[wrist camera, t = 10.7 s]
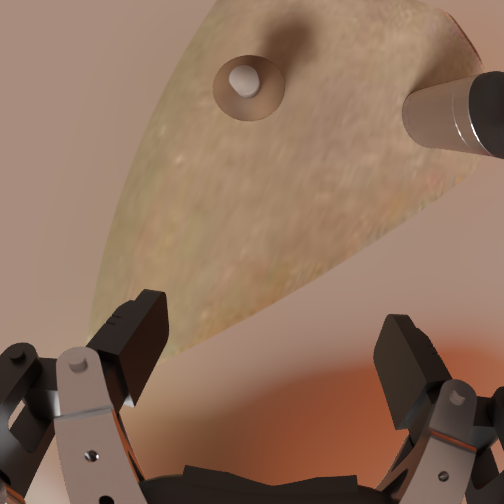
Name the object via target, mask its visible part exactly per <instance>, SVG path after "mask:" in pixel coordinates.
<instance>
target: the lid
mask: <svg viewBox="0 0 504 504" xmlns="http://www.w3.org/2000/svg"><path fill="white" fill-rule="evenodd" d="M284 91H285V83H284V79H283V76H282V74H281V72H280V70H279V69H278V68H277V67H276V65H274V64H273V63H272V62H270V61H269V60H267V59H265V58H262V57H259V56H254V55H245V56H240V57H236V58H234V59H232V60H230V61H228V62H227V63H225V64H224V65H223V66H222V67H221V68H220V70H219V71H218V72H217V74H216V76H215V79H214V82H213V95H214V99H215V101H216V103H217V105H218V106H219V108H220V109H221V110H222V111H223V112H224V113H226V114H227V115H229V116H230V117H232V118H235V119H237V120H241V121H256V120H260V119H263V118H265V117H267V116H269V115H270V114H272V113H273V112H274V111H275V110H276V109H277V108H278V107H279V105H280V104H281V102H282V100H283V97H284Z"/></svg>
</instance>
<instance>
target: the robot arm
mask: <svg viewBox="0 0 504 504" xmlns="http://www.w3.org/2000/svg"><path fill="white" fill-rule="evenodd" d="M402 118H403V122H404V125H405V128H406V130H407V132H408V134H409V135H410V136H411V138H412V139H413V140H414V141H415V142H417V143H418V144H420V145H422V146H424V147H428V148H436V149H444V150H452V151H459V152H466V153H472V154H479V155H485V156H491V157H496V158H501V159H504V72H500V71H493V72H488V73H483V74H479V75H474V76H470V77H466V78H462V79H458V80H454V81H450V82H446V83H442V84H439V85H435V86H431V87H428V88H424V89H421V90H417V91H415V92H413V93H411V94H410V95H409V96H408V97H407V98H406V100H405V102H404V105H403V110H402ZM168 336H169V320H168V309H167V298H166V294H165V292H161V291H155V290H148V289H144V290H143V291H142V292H141V293H140V295H139V296H138V297H137V298H136V299H135V301H133V300H129V301H128V302H126V303H124V304H122V305H121V306H119V307H118V308H117V309H116V310H115V312H114V313H113V314H112V317H111V316H110V318H109V319H108V320H107V321H106V323H104V325H103V326H102V327H101V328H100V329H99V331H98V332H97V333H96V334H95V336H94V337H93V338H92V339H91V340H90V342H89V343H88V344H87V345H86V347H74V348H71V349H68V350H66V351H65V352H63V353H62V354H61V355H60V356H59V358H58V359H52V358H40V357H38V354H37V352H36V350H35V348H34V347H33V346H32V345H31V344H29V343H16V344H14V345H11V346H10V347H8V348H7V349H6V350H5V351H4V352H3V353H2V354H1V355H0V504H26V503H25V500H24V498H25V496H26V493H27V491H28V489H29V487H30V484H31V482H32V480H33V478H34V476H35V474H36V472H37V469H38V467H39V465H40V463H41V461H42V459H43V457H44V455H45V453H46V451H47V449H48V447H49V445H50V443H51V441H52V439H53V437H54V435H56V441H57V447H58V452H59V458H60V463H61V468H62V472H63V476H64V481H65V485H66V489H67V492H68V496H69V499H70V503H71V504H461V502H462V500H463V497H464V494H465V497H466V501H467V504H504V470H503V471H502V472H501V473H500V474H499V472H498V468H497V465H496V463H495V460H494V457H493V454H492V451H491V448H490V447H491V446H492V445H493V444H494V443H495V442H496V441H497V440H498V439H499V440H500V442H501V445H502V448H503V450H504V386H503V387H499V388H498V389H497V390H496V391H495V393H494V394H493V396H492V397H491V398H487V397H480V396H477V395H476V393H475V391H474V390H473V388H472V387H471V386H470V385H469V384H467V383H466V382H463V381H461V380H457V379H452V377H451V375H450V374H449V372H448V370H447V368H446V367H445V364H444V363H443V361H442V359H441V358H440V356H439V355H438V354H437V353H438V352H437V351H436V349H435V347H433V344H432V343H431V341H430V339H429V338H428V336H426V334H424V333H423V332H422V331H421V330H420V329H419V328H416V327H415V325H414V323H413V322H412V320H411V319H410V317H409V316H408V315H399V314H389V315H387V317H386V319H385V321H384V324H383V327H382V330H381V332H380V335H379V338H378V341H377V343H376V346H375V349H374V356H373V359H374V364H375V367H376V370H377V372H378V376H379V379H380V382H381V385H382V388H383V391H384V394H385V397H386V400H387V403H388V407H389V410H390V413H391V416H392V420H393V423H394V427H395V430H401V429H408V431H409V434H408V435H407V436H406V438H405V440H404V442H403V444H402V446H401V448H400V450H399V452H398V453H397V456H396V457H395V459H394V461H393V463H392V465H391V466H390V468H389V470H388V472H387V474H386V475H385V477H384V478H383V480H382V481H381V482H380V483H379V485H378V486H377V487H376V488H375V489H373V488H370V487H366V486H362V485H358V484H357V476H356V475H351V476H339V477H338V476H337V477H316V478H312V479H308V480H303V481H298V482H293V483H288V484H283V485H277V486H270V485H266V484H262V483H259V482H256V481H252V480H249V479H246V478H243V477H240V476H237V475H234V474H231V473H228V472H222V471H215V470H209V469H203V468H198V467H193V466H188V465H185V468H184V471H183V474H175V475H164V476H159V477H155V478H151V479H148V480H147V479H146V477H145V475H144V473H143V471H142V469H141V467H140V465H139V463H138V460H137V458H136V456H135V453H134V451H133V448H132V446H131V443H130V440H129V438H128V435H127V432H126V430H125V427H124V424H123V421H122V418H121V415H120V413H119V411H120V409H121V407H122V405H123V404H124V405H127V406H131V407H135V406H136V403H137V401H138V399H139V397H140V395H141V393H142V391H143V389H144V387H145V385H146V383H147V381H148V379H149V377H150V375H151V373H152V371H153V369H154V367H155V365H156V363H157V361H158V359H159V357H160V355H161V353H162V351H163V349H164V347H165V345H166V343H167V340H168ZM21 400H22V401H23V403H24V404H25V406H24V408H23V409H22V411H21V412H20V414H19V416H18V417H17V419H16V420H15V422H14V423H13V425H12V427H11V428H10V430H9V428H8V420H9V418H10V416H11V414H12V413H13V411H14V410H15V408H16V407H17V405H18V404H19V402H20V401H21Z"/></svg>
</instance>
